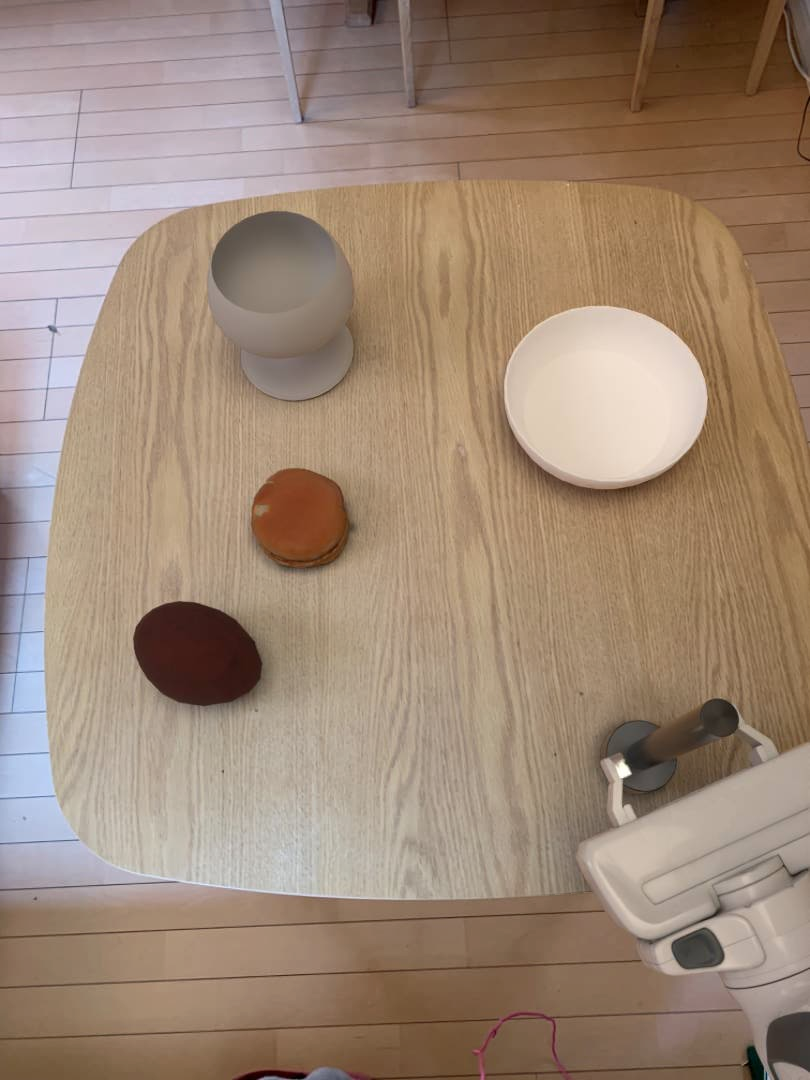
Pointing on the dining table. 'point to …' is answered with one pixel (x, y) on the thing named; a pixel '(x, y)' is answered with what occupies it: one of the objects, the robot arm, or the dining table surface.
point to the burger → (300, 518)
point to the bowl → (604, 397)
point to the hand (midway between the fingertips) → (666, 731)
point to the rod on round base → (667, 743)
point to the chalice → (284, 303)
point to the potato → (196, 654)
